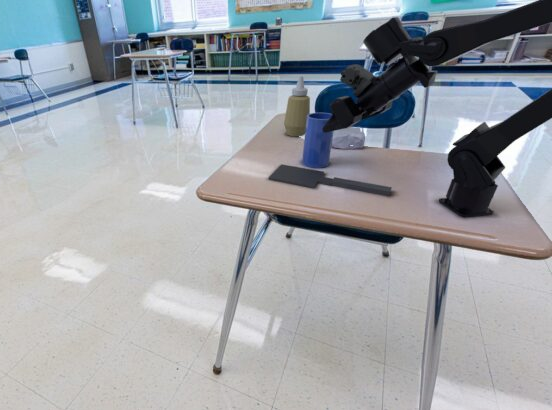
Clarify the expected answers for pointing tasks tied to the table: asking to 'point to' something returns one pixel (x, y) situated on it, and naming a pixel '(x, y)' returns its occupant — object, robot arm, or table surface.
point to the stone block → (348, 138)
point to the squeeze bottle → (297, 110)
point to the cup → (317, 141)
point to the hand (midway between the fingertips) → (334, 126)
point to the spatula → (322, 180)
